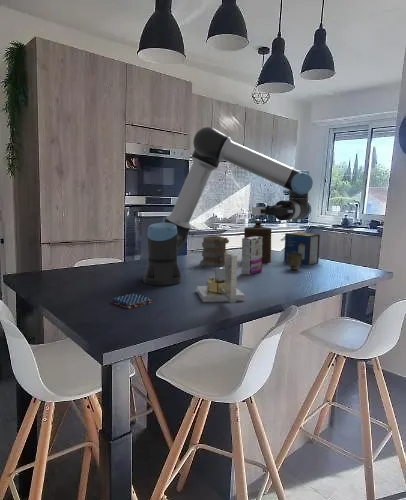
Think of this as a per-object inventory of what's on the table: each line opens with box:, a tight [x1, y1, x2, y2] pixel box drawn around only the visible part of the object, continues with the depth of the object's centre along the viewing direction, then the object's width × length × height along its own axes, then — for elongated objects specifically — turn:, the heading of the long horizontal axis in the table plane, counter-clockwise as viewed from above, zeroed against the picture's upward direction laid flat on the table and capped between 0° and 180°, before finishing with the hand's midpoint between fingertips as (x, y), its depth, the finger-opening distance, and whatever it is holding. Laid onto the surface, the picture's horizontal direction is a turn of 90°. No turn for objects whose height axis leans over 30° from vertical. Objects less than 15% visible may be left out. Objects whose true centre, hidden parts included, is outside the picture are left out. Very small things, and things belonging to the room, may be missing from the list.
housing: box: [195, 266, 246, 303], centre depth 129 cm, size 14×14×10 cm
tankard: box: [200, 235, 230, 268], centre depth 187 cm, size 20×13×15 cm, turn 25°
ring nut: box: [206, 251, 238, 304], centre depth 122 cm, size 22×8×15 cm, turn 11°
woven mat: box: [109, 292, 154, 310], centre depth 121 cm, size 10×11×2 cm
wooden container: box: [243, 220, 272, 264], centre depth 202 cm, size 15×15×22 cm
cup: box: [286, 252, 303, 271], centre depth 180 cm, size 8×7×8 cm
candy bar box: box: [241, 236, 263, 276], centre depth 170 cm, size 11×5×16 cm, turn 143°
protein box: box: [283, 231, 321, 266], centre depth 201 cm, size 10×15×16 cm
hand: (253, 211), depth 125 cm, fingers closed
